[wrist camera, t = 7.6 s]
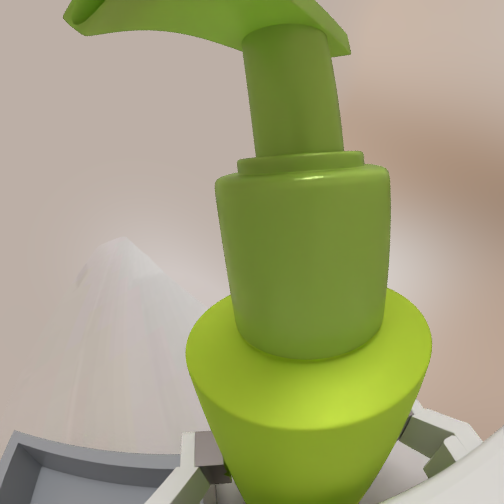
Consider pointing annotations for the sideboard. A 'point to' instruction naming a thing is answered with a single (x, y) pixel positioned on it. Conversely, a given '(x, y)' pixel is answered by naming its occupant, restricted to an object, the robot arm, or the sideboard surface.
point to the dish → (81, 474)
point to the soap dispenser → (294, 266)
